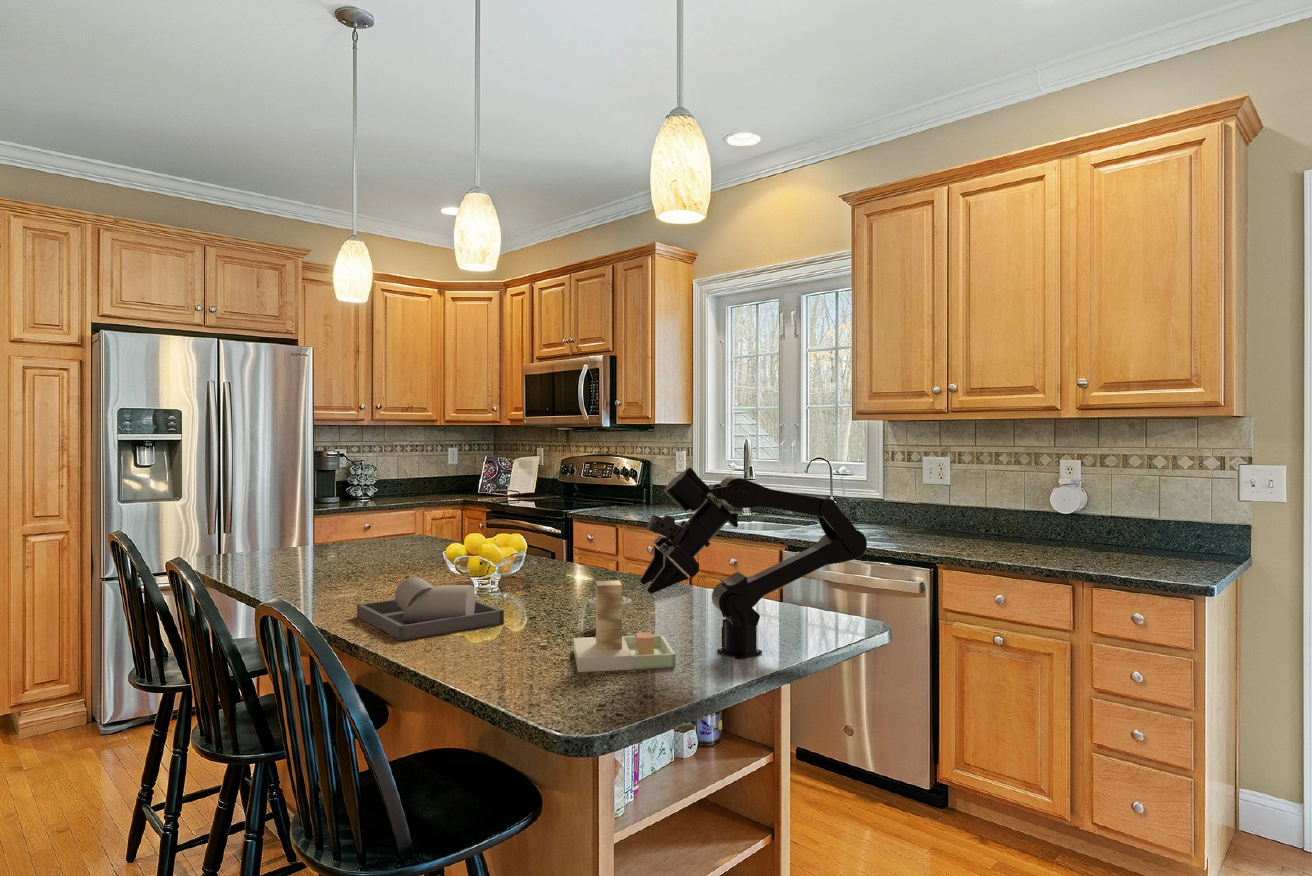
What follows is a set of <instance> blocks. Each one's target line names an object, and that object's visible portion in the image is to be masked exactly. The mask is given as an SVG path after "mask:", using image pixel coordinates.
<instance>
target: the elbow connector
mask: <svg viewBox="0 0 1312 876" xmlns="http://www.w3.org/2000/svg"><path fill="white" fill-rule="evenodd" d="M395 589H396V590H395V593H394V599H395V601H396V603H397V605H398V607H399V608H400V609H401V610H402V611H403V612H404V614H403V616H402V622H403V623H420V622H427V621H433V620H439V619H446V618H452V617H458V616H465V615H471V614H474V610H475V600H476V593H475V592H476V591H475V588H474V586H473V585H471V584H463V585H462V584H439V585H437V586H433V585H432V584H431V583H430V582H428V581H426V580H425V579H423V578H421V577H418V576H411V577H408V578H406V579H404V580H402V581H401V582H400V583H399V584H398V585H397V587H396V588H395Z"/></svg>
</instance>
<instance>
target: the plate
mask: <svg viewBox="0 0 1312 876" xmlns="http://www.w3.org/2000/svg"><path fill="white" fill-rule="evenodd" d="M573 654H574V659H575V663H576V669H577V672H578V673H586V672H587V673H588V672H607V671H609V672H610V671H611V672H612V671H630V670H632V654H631V652H630V650H629V648H628V646H627V644H626V641H625V639H624V637H623V635H622V649H609V650H598V649H597V646H596V636H595V637H593V636H591V637H573ZM632 671H633V670H632Z"/></svg>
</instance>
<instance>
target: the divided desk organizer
mask: <svg viewBox="0 0 1312 876" xmlns="http://www.w3.org/2000/svg"><path fill="white" fill-rule="evenodd" d="M504 612H505V610H504V609H501V608H498V607H495V606H492V605H491V604H488V603H484V602H482V601H479V600H476V599H475V610H474V614H471V615H465V616H458V617H452V618H446V619H439V620H433V621H427V622H420V623H403V622H402V616H403V614H404V612H403V611H402V610H401V609H400V608H399V607H398V605H397V603H396V601H395V598H394V599H388V600H380V601H372V602H366V603H359V604H357V605H356V618H357V617H358V619H359V618H360V620H361V621H363V620H364V621H363V622H365V621H366V622H365V623H366V624H368V623H369V624H368V625H370V626H372V625H373V626H372V627H374V626H375V627H374V628H376V627H377V628H376V629H378V630H379V629H381V630H383V631H384V632H383V631H382V632H383V633H385V632H386V633H385V634H387V635H388V634H390V635H391V636H390V635H389V636H390V637H392V636H393V637H392V638H394V639H396V638H397V639H396V640H398V639H399V640H400V642H403V641H402V640H406V641H408V640H407V639H411V640H414V639H413V638H417V639H422V637H423V638H428V637H427V636H429V637H434V636H433V635H435V636H440V635H439V634H441V635H445V634H451V633H457V632H464V631H470V630H475V629H479V628H480V629H481V628H487V627H492V626H499V625H504V623H505V622H504V621H505V618H504V616H505V614H504ZM381 630H380V631H381ZM399 640H398V641H399Z"/></svg>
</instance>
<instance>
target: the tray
mask: <svg viewBox="0 0 1312 876" xmlns="http://www.w3.org/2000/svg"><path fill="white" fill-rule="evenodd" d="M652 635H653V637H654V654H651V655H636V654H635V635H628V636H627V635H626V636H623V635H622V636H623V637H624V639H625V641H626V644H627V646H628V648H629V650H630V652H631V654H632V671H633V670H648V669H653V670H654V669H672V668H674V669H675V668H676V665H677V663H676V662H677V661H676V660H677V659H676V658H677V657H676V652H675V651H674V649H673V648H672V646H671V645H670V644H669V642H668V641H667V639H666V638H665V636H664V634H656V635H655V634H652Z"/></svg>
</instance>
